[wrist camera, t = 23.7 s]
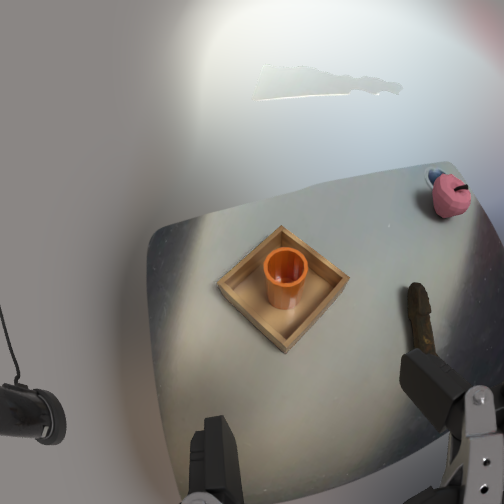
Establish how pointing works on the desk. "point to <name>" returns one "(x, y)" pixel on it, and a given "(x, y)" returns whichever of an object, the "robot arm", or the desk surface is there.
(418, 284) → the dark brown long bar
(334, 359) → the desk surface
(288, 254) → the orange cup
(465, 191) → the apple
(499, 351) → the desk surface
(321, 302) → the wooden tray
